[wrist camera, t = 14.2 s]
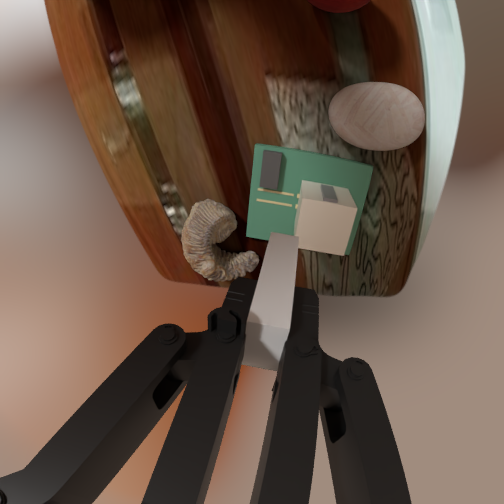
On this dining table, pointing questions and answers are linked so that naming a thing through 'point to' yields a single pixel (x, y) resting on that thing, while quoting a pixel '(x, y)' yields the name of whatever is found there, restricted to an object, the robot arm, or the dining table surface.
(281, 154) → the board
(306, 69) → the dining table surface
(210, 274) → the seashell
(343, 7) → the apple
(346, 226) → the plug
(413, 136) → the decorative stone
